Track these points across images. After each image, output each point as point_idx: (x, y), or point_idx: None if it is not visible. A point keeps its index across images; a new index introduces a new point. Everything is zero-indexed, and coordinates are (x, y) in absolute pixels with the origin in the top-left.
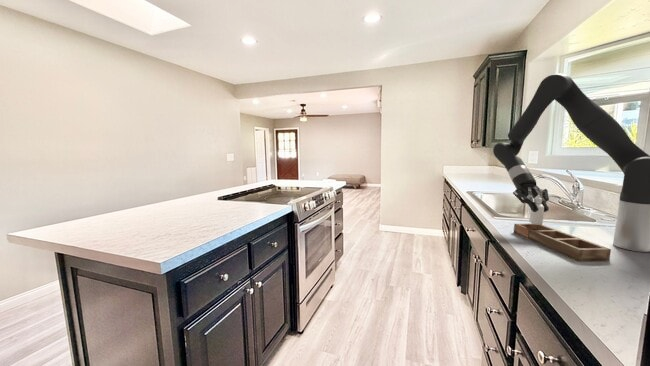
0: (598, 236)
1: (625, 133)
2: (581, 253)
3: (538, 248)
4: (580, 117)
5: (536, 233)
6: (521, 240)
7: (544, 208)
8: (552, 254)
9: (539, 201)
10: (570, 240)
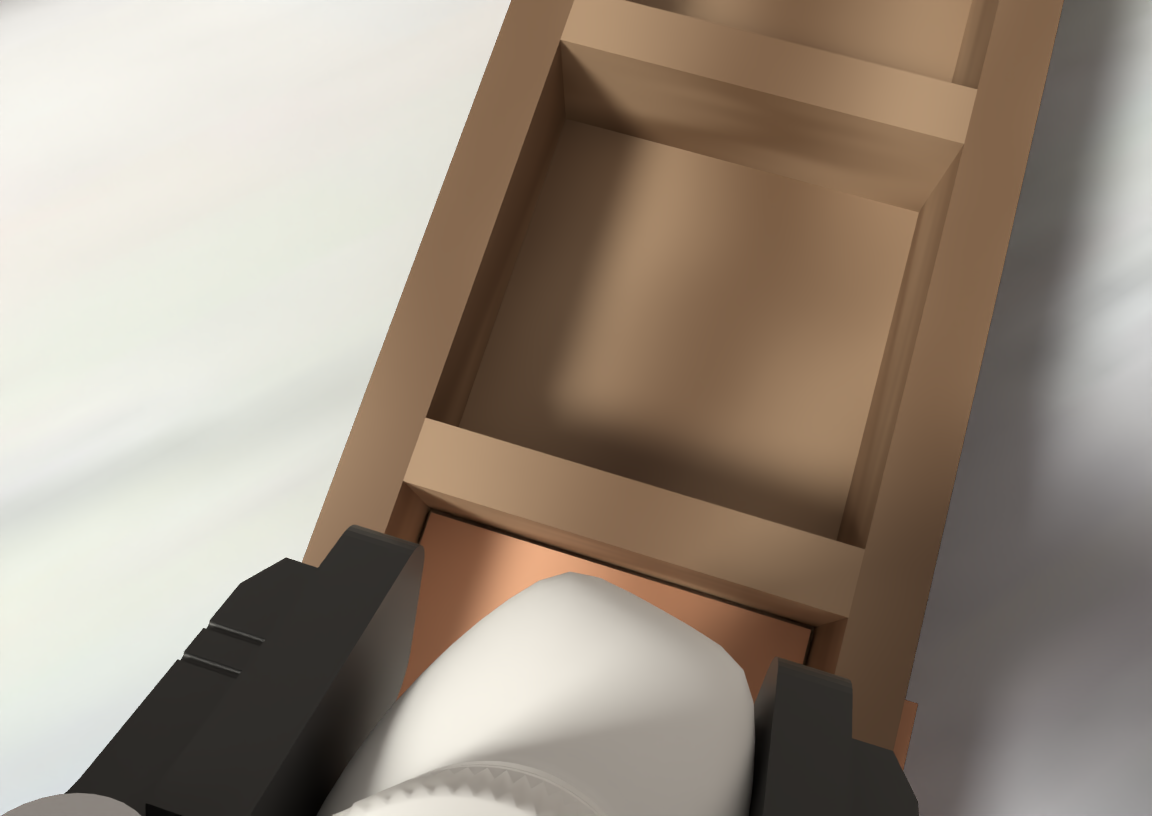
0: None
1: None
2: None
3: (1117, 324)
4: None
5: (945, 496)
6: (1045, 695)
7: (381, 665)
8: (1139, 107)
9: (577, 806)
10: (736, 39)
